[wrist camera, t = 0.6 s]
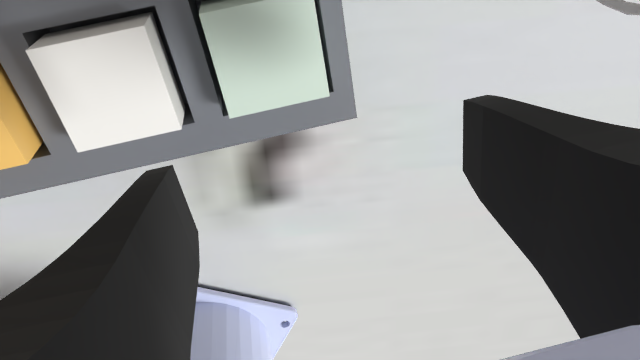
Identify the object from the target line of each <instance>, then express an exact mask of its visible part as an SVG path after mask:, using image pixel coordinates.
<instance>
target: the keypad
mask: <svg viewBox="0 0 640 360" xmlns="http://www.w3.org/2000/svg"><path fill="white" fill-rule="evenodd" d="M201 1H206V0H0V63H1V65H2V66H3V68H4V70H5V72H6V74H7V75H8V77H9V79H10V81H11V83H12V85H13V86H14V88H15V90H16V92H17V94H18V95H19V97H20V99H21V101H22V103H23V105H24V106H25V108H26V110H27V112H28V114H29V115H30V117H31V119H32V121H33V123H34V124H35V126H36V128H37V130H38V132H39V134H40V135H41V137H42V139H43V141H44V142H43V143H42V144H41V146H40V147H39V149H38V150H37V152H36V153H35V154H34V156H33V157H32V159H31V160H30V161H29V163H28V164H25V165H20V166H16V167H11V168H7V169H2V170H0V199H1V198H5V197H10V196H14V195H18V194H23V193H27V192H32V191H36V190H40V189H45V188H49V187H54V186H58V185H62V184H67V183H71V182H76V181H80V180H85V179H89V178H93V177H98V176H102V175H107V174H111V173H115V172H120V171H124V170H129V169H133V168H137V167H142V166H146V165H151V164H155V163H159V162H164V161H168V160H173V159H177V158H181V157H186V156H190V155H195V154H199V153H203V152H208V151H212V150H217V149H221V148H225V147H230V146H234V145H239V144H243V143H248V142H252V141H256V140H261V139H265V138H270V137H274V136H278V135H283V134H287V133H292V132H296V131H300V130H305V129H309V128H314V127H318V126H322V125H327V124H331V123H336V122H340V121H344V120H349V119H353V118H357V114H356V107H355V99H354V92H353V84H352V76H351V69H350V61H349V54H348V46H347V39H346V31H345V23H344V16H343V8H342V1H341V0H314V2H315V8H316V14H317V20H318V27H319V33H320V39H321V45H322V51H323V57H324V63H325V70H326V76H327V82H328V88H329V94H330V96H329V97H324V98H320V99H315V100H311V101H307V102H302V103H298V104H293V105H289V106H284V107H280V108H275V109H271V110H266V111H262V112H257V113H253V114H248V115H244V116H239V117H235V118H231V119H230V118H229V115H228V111H227V108H226V104H225V101H224V98H223V94H222V91H221V88H220V84H219V81H218V77H217V74H216V71H215V67H214V64H213V60H212V57H211V54H210V50H209V47H208V44H207V40H206V37H205V33H204V30H203V27H202V23H201V20H200V17H199V10H200V5H201ZM148 12H152V14H153V16H154V19H155V22H156V25H157V28H158V31H159V34H160V37H161V39H162V42H163V45H164V48H165V51H166V54H167V57H168V60H169V62H170V65H171V68H172V71H173V74H174V77H175V80H176V83H177V85H178V88H179V91H180V94H181V97H182V100H183V103H184V105H185V113H184V118H183V124H182V129H181V130H177V131H172V132H168V133H163V134H159V135H154V136H150V137H145V138H141V139H136V140H132V141H128V142H123V143H119V144H114V145H110V146H105V147H101V148H96V149H92V150H87V151H83V152H77V150H76V148H75V146H74V144H73V142H72V140H71V138H70V137H69V135H68V133H67V131H66V129H65V127H64V125H63V123H62V121H61V119H60V117H59V115H58V113H57V111H56V109H55V107H54V105H53V103H52V101H51V100H50V98H49V96H48V94H47V92H46V90H45V88H44V86H43V84H42V82H41V80H40V78H39V76H38V74H37V72H36V70H35V68H34V66H33V64H32V63H31V61H30V59H29V57H28V55H27V53H26V51H25V50H27V49H28V48H29V47H30V46H31V45H33V44H34V43H35V42H36V41H37V40H39V39H40V38H41V37H42V36H43V35H45V34H48V33H52V32H57V31H62V30H67V29H72V28H76V27H81V26H86V25H91V24H96V23H100V22H105V21H110V20H115V19H120V18H124V17H129V16H134V15H139V14H143V13H148Z"/></svg>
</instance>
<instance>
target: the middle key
mask: <svg viewBox="0 0 640 360" xmlns="http://www.w3.org/2000/svg"><path fill="white" fill-rule="evenodd" d="M25 51H26V53H27V55H28V57H29V59H30V61H31V63H32V64H33V66H34V68H35V70H36V72H37V74H38V76H39V78H40V80H41V82H42V84H43V86H44V88H45V90H46V92H47V94H48V96H49V98H50V100H51V101H52V103H53V105H54V107H55V109H56V111H57V113H58V115H59V117H60V119H61V121H62V123H63V125H64V127H65V129H66V131H67V133H68V135H69V137H70V138H71V140H72V142H73V144H74V146H75V148H76V150H77V152H83V151H87V150H92V149H96V148H101V147H105V146H110V145H114V144H119V143H123V142H128V141H132V140H136V139H141V138H145V137H150V136H154V135H159V134H163V133H168V132H172V131H177V130H181V129H182V124H183V118H184V113H185V105H184V103H183V100H182V97H181V94H180V91H179V88H178V85H177V83H176V80H175V77H174V74H173V71H172V68H171V65H170V62H169V60H168V57H167V54H166V51H165V48H164V45H163V42H162V39H161V37H160V34H159V31H158V28H157V25H156V22H155V19H154V16H153V14H152V12H148V13H143V14H139V15H134V16H129V17H124V18H120V19H115V20H110V21H105V22H100V23H96V24H91V25H86V26H81V27H76V28H72V29H67V30H62V31H57V32H52V33H48V34H45V35H43V36H42V37H41V38H40V39H39V40H37V41H36V42H35V43H34V44H33V45H31V46H30V47H29V48H28V49H27V50H25Z"/></svg>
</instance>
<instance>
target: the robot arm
mask: <svg viewBox="0 0 640 360" xmlns="http://www.w3.org/2000/svg"><path fill="white" fill-rule="evenodd" d="M463 172H464V173H465V175H466V177H467V179H468V181H469V182H470V184H471V186H472V188H473V189H474V191H475V193H476V194H477V196H478V198H479V199H480V201H481V202H482V203H483V204H484V206H485V207H486V208H487V209H488V211H489V212H490V213H491V214H492V216H493V217H494V218H495V219H496V221H497V222H498V223H499V224H500V226H501V227H502V228H503V229H504V230H505V232H506V233H507V234H508V235H509V236H510V238H511V239H512V240H513V241H514V242H515V244H516V245H517V246H518V247H519V248H520V250H521V251H522V252H523V253H524V255H525V256H526V257H527V258H528V259H529V261H530V262H531V263H532V264H533V266H534V267H535V268H536V270H537V271H538V272H539V274H540V275H541V276H542V278H543V280H544V281H545V283H546V284H547V286H548V287H549V289H550V290H551V292H552V293H553V295H554V297H555V298H556V300H557V301H558V303H559V304H560V306H561V307H562V309H563V310H564V312H565V314H566V315H567V317H568V319H569V320H570V322H571V324H572V325H573V327H574V329H575V330H576V332H577V334H578V335H579V337H580V339H578V340H574V341H570V342H566V343H562V344H559V345H555V346H551V347H547V348H543V349H539V350H535V351H532V352H528V353H524V354H520V355H516V356H512V357H508V358H505V359H501V360H640V129H637V128H630V127H625V126H619V125H614V124H609V123H604V122H600V121H595V120H590V119H586V118H581V117H577V116H573V115H569V114H565V113H561V112H557V111H554V110H550V109H546V108H542V107H539V106H535V105H531V104H528V103H524V102H520V101H516V100H512V99H508V98H503V97H499V96H492V95H485V96H480V97H476V98H471V99H467V100H464V105H463ZM199 267H200V265H199V240H198V230H197V228H196V225H195V223H194V220H193V217H192V215H191V212H190V210H189V207H188V204H187V202H186V199H185V197H184V194H183V191H182V189H181V186H180V184H179V181H178V178H177V176H176V173H175V171H174V168H173V165H171V166H166V167H162V168H157V169H153V170H148V171H146V172H145V173H144V174H142V175H141V176H140V177H139V178H138V179H137V180H136V181H135V182H134V183H133V184H132V185H131V187H130V188H129V189H128V190H127V191H126V192H125V193H124V194H123V195H122V196H121V197H120V198H119V199H118V200H117V201H116V202H115V204H114V205H113V206H112V207H111V208H110V209H109V210H108V211H107V212H106V213H105V214H104V215H103V216H102V217H101V218H100V219H99V220H98V221H97V222H96V223H95V224H94V225H93V226H92V227H91V228H90V229H89V230H88V231H87V232H86V233H85V234H84V235H82V236H81V237H80V238H79V239H78V240H77V241H76V242H75V243H74V244H73V245H72V246H71V247H70V248H69V249H67V250H66V251H65V252H64V253H63V254H62V255H61V256H59V257H58V258H57V259H56V260H55V261H53V262H52V263H51V264H50V265H48V266H47V267H46V268H45V269H43V270H42V271H41V272H40V273H38V274H37V275H36V276H34V277H33V278H32V279H30V280H29V281H28V282H26V283H25V284H24V285H22V286H21V287H19V288H18V289H16V290H15V291H13V292H12V293H10V294H9V295H8V296H6V297H5V298H3V299H2V300H0V360H273V358H274V357H275V355H276V353H277V352H278V350H279V348H280V347H281V345H282V343H283V342H284V340H285V338H286V337H287V335H288V333H289V332H290V330H291V328H292V326H293V325H294V323H295V321H296V320H297V317H298V314H297V310H296V309H295V308H294V307H292V306H287V305H282V304H277V303H273V302H268V301H263V300H258V299H253V298H249V297H244V296H239V295H234V294H230V293H225V292H220V291H215V290H210V289H206V288H201V287H198V278H199ZM283 321H286V322H283Z"/></svg>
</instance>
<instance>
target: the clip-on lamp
mask: <svg viewBox="0 0 640 360" xmlns="http://www.w3.org/2000/svg"><path fill="white" fill-rule="evenodd" d="M597 1H598V2H600V3H601V4H603V5H605V6H608V7H610V8H612V9H615V10H617V11H620V12H622V13H624V14H627V15H640V4H636V3H631V2H626V1H624V0H597Z"/></svg>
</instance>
